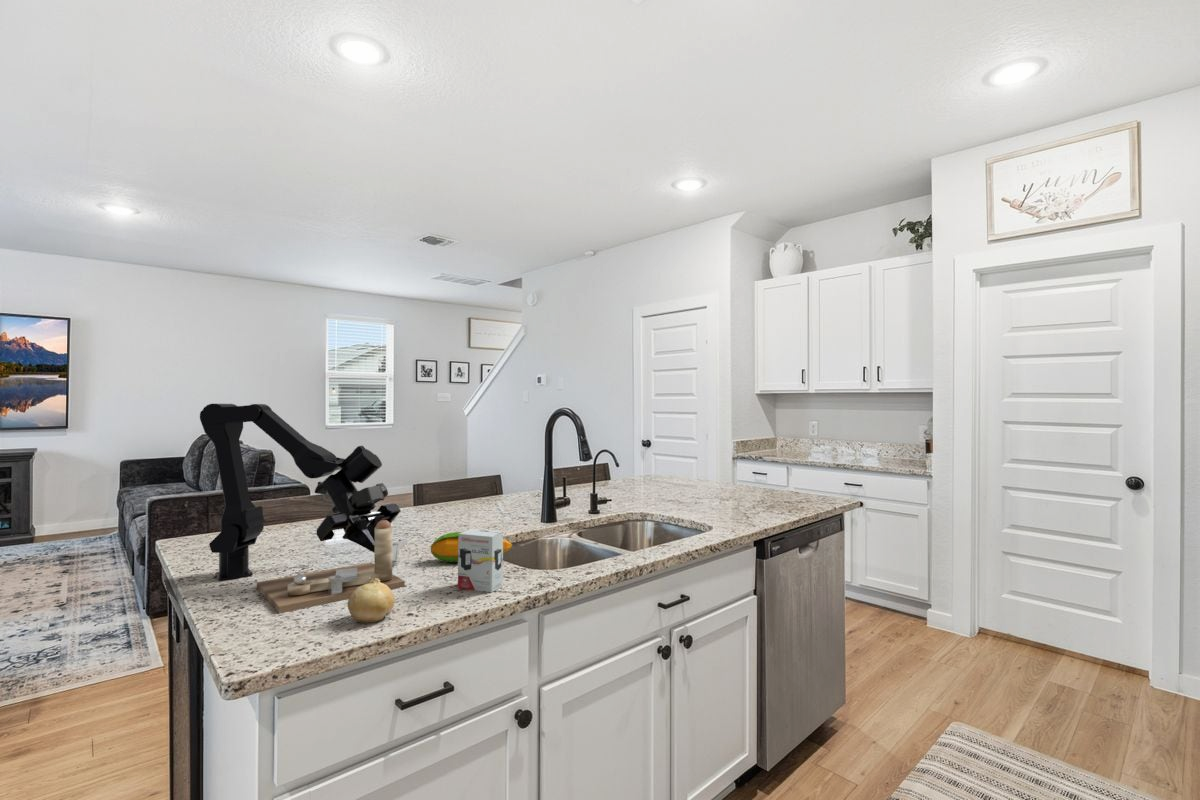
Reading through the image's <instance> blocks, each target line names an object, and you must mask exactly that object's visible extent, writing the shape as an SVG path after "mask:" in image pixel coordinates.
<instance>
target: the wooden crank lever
mask: <svg viewBox="0 0 1200 800" xmlns="http://www.w3.org/2000/svg"><path fill="white" fill-rule="evenodd" d="M392 543H393V526H392V523H391V524H390V522H389V521H387V520H381V521H379V522H378V523H377V525H376V527H375V553H374V563H373V564H374V571H372V572H366V573H359V574H357V581H351V582H342V587H347V586H353V585H360V584H366V583H369V582H370V581H371V580H372V579H374V578H378V579H379V580H380V581H387V580H390V579H392V574H393V567H392ZM369 577H370V578H371V580H369ZM328 589H329V578H325V579H319V580H312V581H306V582H305V583H302V584H294V583H291V584H289V585H288V595H303V594H307V593H310V592H315V591H322V590H328Z"/></svg>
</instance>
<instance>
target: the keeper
mask: <svg viewBox="0 0 1200 800" xmlns="http://www.w3.org/2000/svg"><path fill="white" fill-rule="evenodd" d="M351 581H357V568H349V569H339V570H337V571H336V575H335V576H331V577H329V594H331V595H335V594H340V593H342V582H351ZM305 582H306V576H297V577H294V584H302V583H305Z"/></svg>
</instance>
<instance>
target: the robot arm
mask: <svg viewBox="0 0 1200 800" xmlns="http://www.w3.org/2000/svg"><path fill="white" fill-rule="evenodd" d="M199 420H200V423H201V426H202V429H203V430H204V431H203V432H204V433H205V435H206V436H207V437H208V438H209V440H210V441H211V442H212V444H213V445H214V451H215V455H216V461H217V467H218V471H219V472H218V473H219V476H220V477H219V478H220V482H221V489H222V494H223V499H224V506H225V507H224V510H223V513H222V516H221V518H220V532H219V534H217V535H216V537H214V539H212V540H211V541H210V542H209V544H208V545H209V548H210V551H211V553H214V554H215V553H216V554H218V571H216V572H215V573H214V575H215V576H216V578H217V579H218V581H225V580H230V579H232V580H233V579H236V578H241V577H243V578H244V577H247V576H253V575H254V572H253V571H252V570H251V569H250V568H249V563H250V562H249V555H250V553H249V552H250V550H249V548H250V547H249V546H252V545H254V544H256V541H257V539H258V536H260V535H261V533H262V532H263V531H264V524H265V523H266V522H267V521H266V519H265V518H264V514H263V513H264V511H263V510H264V509H263V506H262V505H258V506H255V504H254V503H253V502H252V501H251V498H250V492H249V487H248V482H247V476H246V472H245V471H246V470H245V465H244V459H243V455H242V454H243V453H242V448H241V444H240V438H241V435H242V432H243V429H244V423H247V422H248V423H250V422H251V423H253V424H254V425H256V426H257V427H258V428H259V429H261V430H262V431H263V432H264V433H265V434H266V435H268V436H269V438H271V439H272V440H274V441H275V442H276V443H277V444H278V445H279V446H280V447H281V448H283V449H284V450H285V451H286V452H287V453H289V454H290V456H291V457H292V459H293V461H294V463H295V465H296V467H297V468H298V469H299V470H300V471H301V473H302V474H303V475H304V476H305V477H307V478H309V479H320V478H323V477H327V478H325V479H324V480H323V481H318V482H317V486H316V487H315V489H314V493H315V494H318V495H328V497H329V499H330V500H331V503H332V505H333V508H332V510H331V511H332V512H333V514H327V515H326V516H325V517H324V519H323V520H322V521H321V522H320V524H319V525H318V527H317V528H316V536H317V538H318V540H319V541H320V542H324V541H329V540H332V539H333V538H334V536H335V532H334V531H336V530H343V532H344V534H343V536H342V537H341V538H342V539H343V540H348V541H350V542H353V543H355V544H357V545H359V546H361V547H362V548H365V549H366V550H368V551H370V552H372V553H374V554H375V527H376V525H377V523H378V522H379V521H381V520H387V521H389V522H390V524H391V525H392V523H393V521H394V520H395V519H396V518H397V517H398V515H399V514H400V513H401V511H402V510H401V508H400V507H399V506H398V504H397V503H393V502H392V503H388V504H381V505H380V506H379V508H378V509H377V510H376V511H375V512H371V511H373V510H374V509H375V508H376V504H377V503H379V502H381V501H384V500H386V499H385V497H387V496H388V495H389V490H388V488H387V487H386V485H385V484H384V483H383V482H381V483H380V482H379V483H376V484H375V485H372V486H367V487H364V488H362V489H359V490H358V489H357V487H356V486H355V484H356V483H359V484H363V483H364V482H366V481H367V480H368V479H369V478H371V476H372V475H374V473H376V472H377V471H378V470H380V468H381V467H382V466H383V463H382V461H381V460H380V458H379V456H378V455H377V454H376V453H375V454H374V453H373V452H372V451H371V450H369V449H367V448H365V446H364V445H357V446H356V448H354V449H353V451H352V452H351V453H350V454H349V455H347V457H346V458H342V457H337V456H336V455H335V454H334V453H333V452H332V451H330V450H328V449H326V448H325V447H323V446H321V445H318V444H316V443H314V442H311V441H309V440H308V439H306V437H304V436H303V435H302V434H300V432H298V431H297V430H296V429H295V428H294V427H292V425H290V424H289V423H288V422H286V421H285V420H284V419H283V418H282V417H281V416H279V415H278V414H277V413H276V412H274V411H273V410H272V408H271V407H270V406H269V405H267V404H265V403H250V404H249V405H248V404H247V405H239V406H238V405H236V404H234V403H210V404H207V405H205V406H204V407H203V409H202V410H201V411H200V412H199ZM335 471H337V472H336V473H334V472H335Z"/></svg>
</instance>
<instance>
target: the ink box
mask: <svg viewBox="0 0 1200 800" xmlns="http://www.w3.org/2000/svg"><path fill="white" fill-rule="evenodd" d="M461 532H462V533H459V534H458V562H457V589H461V590H468V591H475V590H476V592H477V591H478V592H484V591H485V592H484V593H493V592H495V591H497V590H498V589H500V588H502V587H503V586H504V583H503V582H504V568H503V567H504V566H503V565H504V552H503V539H504V532H502V531H501V530H491V529H480V528H469V529H467V530H465V531H461Z"/></svg>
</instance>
